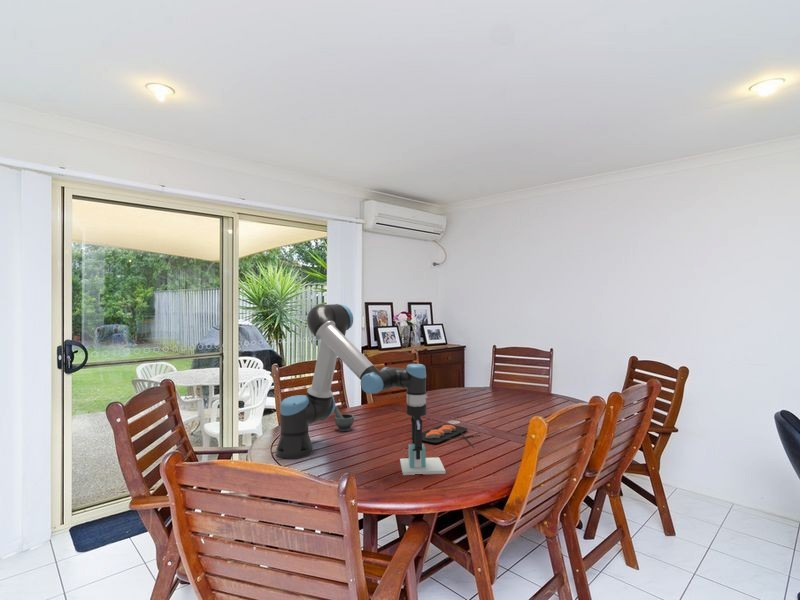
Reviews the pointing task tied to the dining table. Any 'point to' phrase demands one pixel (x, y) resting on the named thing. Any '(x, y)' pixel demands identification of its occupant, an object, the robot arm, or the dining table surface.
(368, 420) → the dining table surface
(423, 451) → the cap
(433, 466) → the stud board
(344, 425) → the mortar and pestle
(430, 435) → the sushi plate
